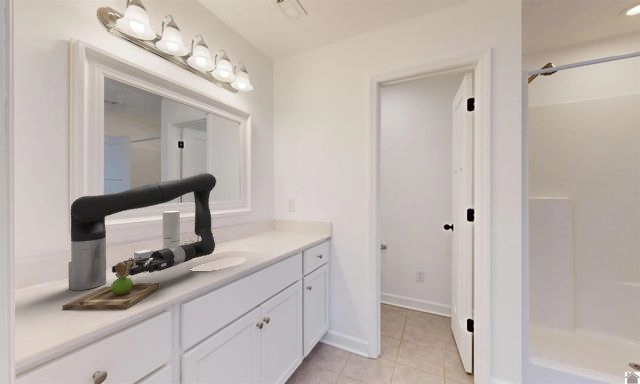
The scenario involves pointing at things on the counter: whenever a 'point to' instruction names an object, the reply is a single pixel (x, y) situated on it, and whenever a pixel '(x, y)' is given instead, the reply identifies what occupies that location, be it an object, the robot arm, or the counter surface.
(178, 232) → the cylindrical container
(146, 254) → the skincare box
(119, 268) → the snail figurine
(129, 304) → the display base
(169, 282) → the counter surface
